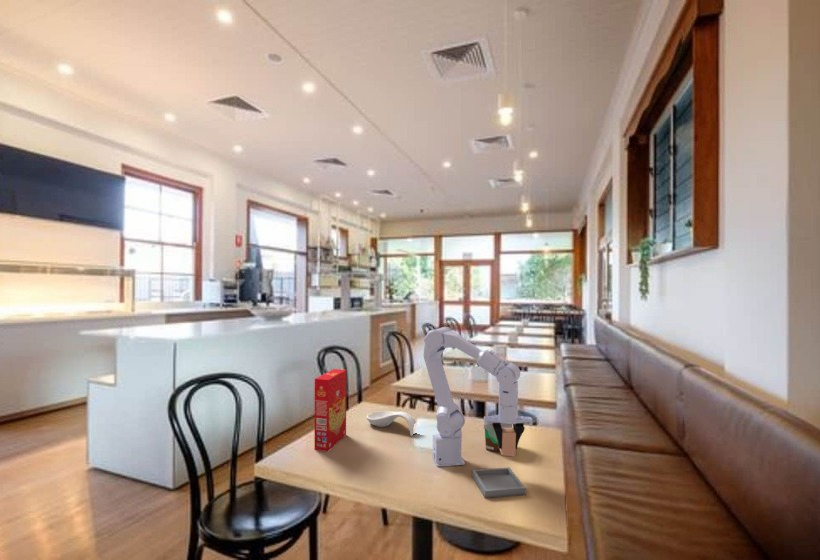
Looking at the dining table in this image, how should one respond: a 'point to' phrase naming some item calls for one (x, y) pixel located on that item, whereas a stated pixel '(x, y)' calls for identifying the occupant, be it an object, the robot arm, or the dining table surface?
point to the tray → (498, 482)
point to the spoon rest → (389, 418)
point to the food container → (493, 437)
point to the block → (508, 442)
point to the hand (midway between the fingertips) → (507, 447)
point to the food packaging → (330, 409)
